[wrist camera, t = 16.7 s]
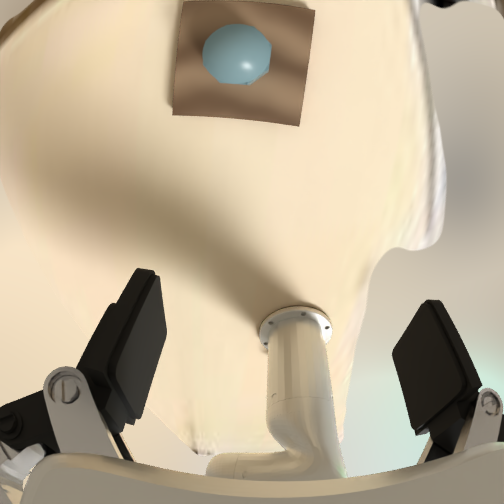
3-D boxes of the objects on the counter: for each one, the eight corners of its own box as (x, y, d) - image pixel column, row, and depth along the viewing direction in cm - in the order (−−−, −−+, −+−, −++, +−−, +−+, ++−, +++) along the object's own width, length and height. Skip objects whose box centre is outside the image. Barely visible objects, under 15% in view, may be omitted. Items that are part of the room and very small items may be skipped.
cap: (266, 87, 26) (266, 87, 22) (210, 82, 26) (199, 82, 22) (273, 36, 23) (274, 26, 19) (215, 32, 23) (206, 23, 19)
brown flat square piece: (297, 124, 30) (299, 126, 29) (176, 113, 30) (172, 115, 28) (313, 13, 22) (315, 10, 21) (187, 4, 22) (183, 1, 21)
